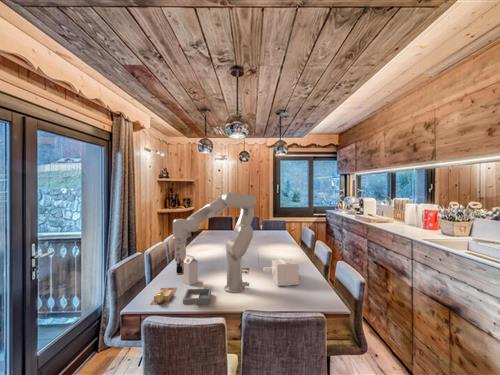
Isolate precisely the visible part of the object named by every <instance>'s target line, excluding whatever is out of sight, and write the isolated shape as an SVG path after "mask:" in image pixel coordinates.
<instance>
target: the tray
mask: <svg viewBox="0 0 500 375" xmlns="http://www.w3.org/2000/svg"><path fill="white" fill-rule="evenodd" d="M190 294H191V295H192V294H199V295H198V297H193V298H189V295H190ZM211 296H212V287H209V288H208V287H207V288H188V289H186V291H185V294H184V296H183V297H182V304H183V305H187V304H189V305H191V304H192V305H193V304H196V305H198V306H210V302H211V301H210V300H211V298H210V297H211Z"/></svg>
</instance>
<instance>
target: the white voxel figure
mask: <svg viewBox="0 0 500 375" xmlns="http://www.w3.org/2000/svg"><path fill="white" fill-rule="evenodd" d="M263 272H268V273H269V272H271V273H272V274H271V276H272V277H271V280H272V281H273V282H274V283H275V285H276V286H278V287H280V286H281V287H283V286H285V287H290V286H294V285H295V286H296V285H299V284H300V280H299V277H300V276H299V263H298V262H296V261H295V260H294V259H292V258H283V257H282V258H279V259H272V260H271V266H270V267H269V266H265V267H263Z"/></svg>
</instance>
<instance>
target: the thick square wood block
mask: <svg viewBox="0 0 500 375" xmlns="http://www.w3.org/2000/svg"><path fill="white" fill-rule="evenodd" d="M157 293H164V301H169V300H170V298H171V297H172V296H173V297H174V295H173V290H160V289H159V290H158V291H156V293H155V294H154V295H153V300H154V301H157ZM173 297H172V298H173Z"/></svg>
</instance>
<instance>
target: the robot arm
mask: <svg viewBox="0 0 500 375" xmlns="http://www.w3.org/2000/svg"><path fill="white" fill-rule="evenodd" d="M256 203H257V200H256V197H255V196H253V195H251V194H247V193H237V192H231V191H226V192H223V193H221V195H219V196H217V197H216V198H215V199H214V200H213V201H211V202H209V203H208V204H206V205H204V206H203V207H202V208H200V209H198V210H196V211H195V212H194V213H192V214H191V215H190V216H188V217H186V218H185V219H184V218H175V219H173V221H172V244H174V262H176V266H175V268H176V274H177V273H182V261H184V260H185V258H186V256H187V246H186V243H188V242H187V232H197V231H199V230H200V228H201V223H203V222H204V221H206V220H207V219H211V218H214V217H217V216H218V215H219V214H221V213H222V212H223V211H225V210H226V209H227V208H230V207H232V208H239V209H240V214H239V217H238V219H237V221H236V224H235V226H234V228H233V234H234V235H235V236H236V237H231V238H229V239H228V240H227V241H226V244H225V254H226V285H224V286H223V287H224V290H225V291H226V292H228V293H234V294H235V293H240V292H243V291H244V290H245V287H250V282H248V281H243V256H245V254H246V253H247V250H248V249H249V246H250V245H251V241H252V239H253V237H254V229H253V227H252V226H251V225H252V222H253V219H254V216H255V215H254V214H255V211H254V207H255V206H256ZM179 262H180V263H179Z"/></svg>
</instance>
